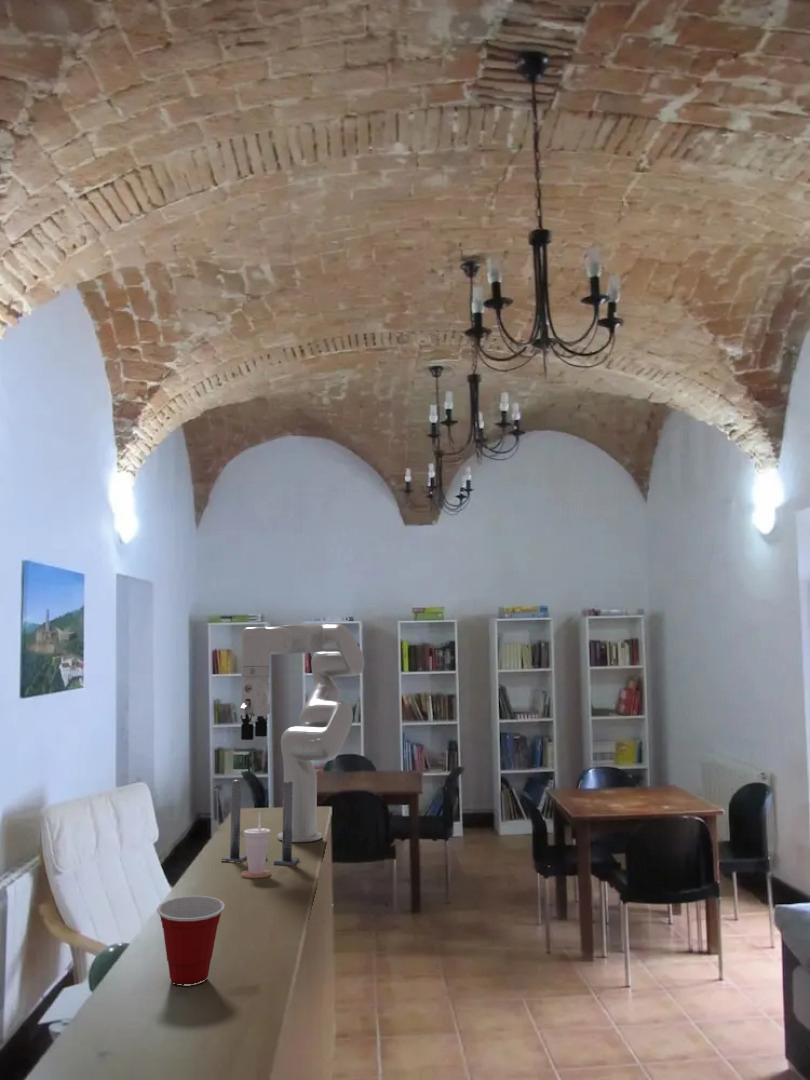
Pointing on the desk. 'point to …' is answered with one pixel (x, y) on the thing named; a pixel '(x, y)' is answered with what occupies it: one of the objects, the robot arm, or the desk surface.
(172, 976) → the plastic cup
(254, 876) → the coaster
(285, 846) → the post
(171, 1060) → the desk surface
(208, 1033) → the desk surface
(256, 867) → the smoothie
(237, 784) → the post
